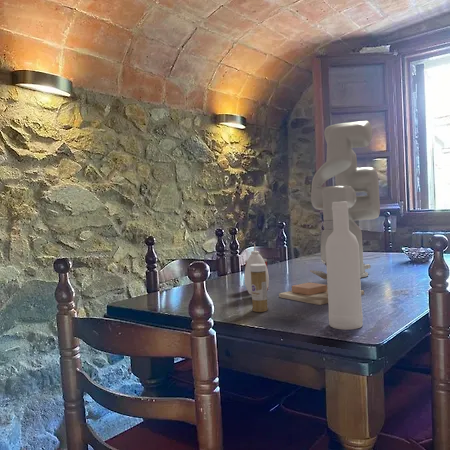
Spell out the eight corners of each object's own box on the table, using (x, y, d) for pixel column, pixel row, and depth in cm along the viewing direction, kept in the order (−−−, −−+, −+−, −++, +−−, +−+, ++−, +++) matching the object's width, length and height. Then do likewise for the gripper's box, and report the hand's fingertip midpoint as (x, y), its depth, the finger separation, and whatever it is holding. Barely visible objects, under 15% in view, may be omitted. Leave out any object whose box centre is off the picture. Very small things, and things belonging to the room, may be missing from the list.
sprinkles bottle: (249, 311, 130) (246, 265, 129) (258, 308, 133) (255, 262, 133) (262, 313, 127) (259, 265, 126) (271, 309, 130) (268, 263, 130)
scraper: (340, 288, 145) (343, 277, 146) (352, 289, 141) (355, 279, 142) (309, 271, 138) (313, 260, 139) (321, 272, 134) (325, 261, 135)
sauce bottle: (253, 301, 143) (250, 244, 143) (241, 297, 150) (238, 243, 150) (274, 297, 147) (271, 242, 146) (261, 294, 154) (258, 241, 153)
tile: (309, 282, 152) (291, 285, 148) (327, 284, 146) (309, 288, 141) (309, 288, 152) (292, 292, 148) (327, 291, 146) (309, 295, 141)
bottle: (353, 331, 104) (347, 201, 103) (323, 327, 109) (316, 203, 108) (368, 323, 110) (362, 200, 108) (338, 319, 115) (333, 202, 114)
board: (322, 287, 159) (322, 284, 159) (364, 294, 144) (363, 290, 144) (279, 297, 147) (279, 293, 147) (319, 305, 133) (319, 301, 133)
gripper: (308, 226, 146) (311, 283, 146) (348, 226, 132) (351, 288, 133) (325, 225, 150) (327, 280, 150) (365, 224, 136) (368, 285, 137)
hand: (339, 283), depth 141 cm, fingers closed on scraper, 3 cm apart
